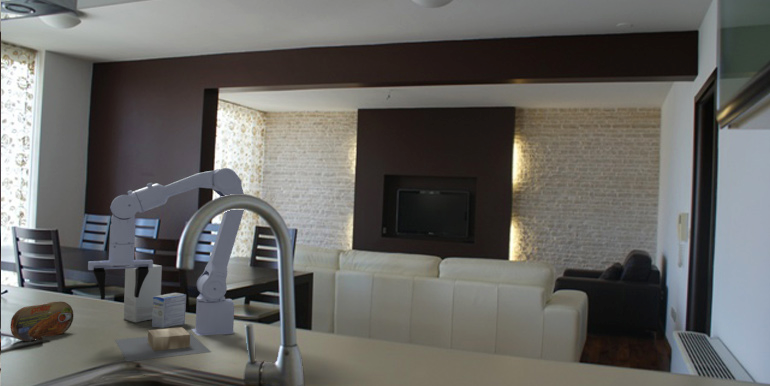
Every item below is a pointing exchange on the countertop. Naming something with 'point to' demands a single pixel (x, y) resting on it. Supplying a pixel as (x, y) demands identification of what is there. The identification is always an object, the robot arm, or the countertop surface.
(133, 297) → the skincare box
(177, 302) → the medicine box
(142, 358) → the mat
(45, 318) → the tin
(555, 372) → the countertop surface
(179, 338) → the tan flat block
